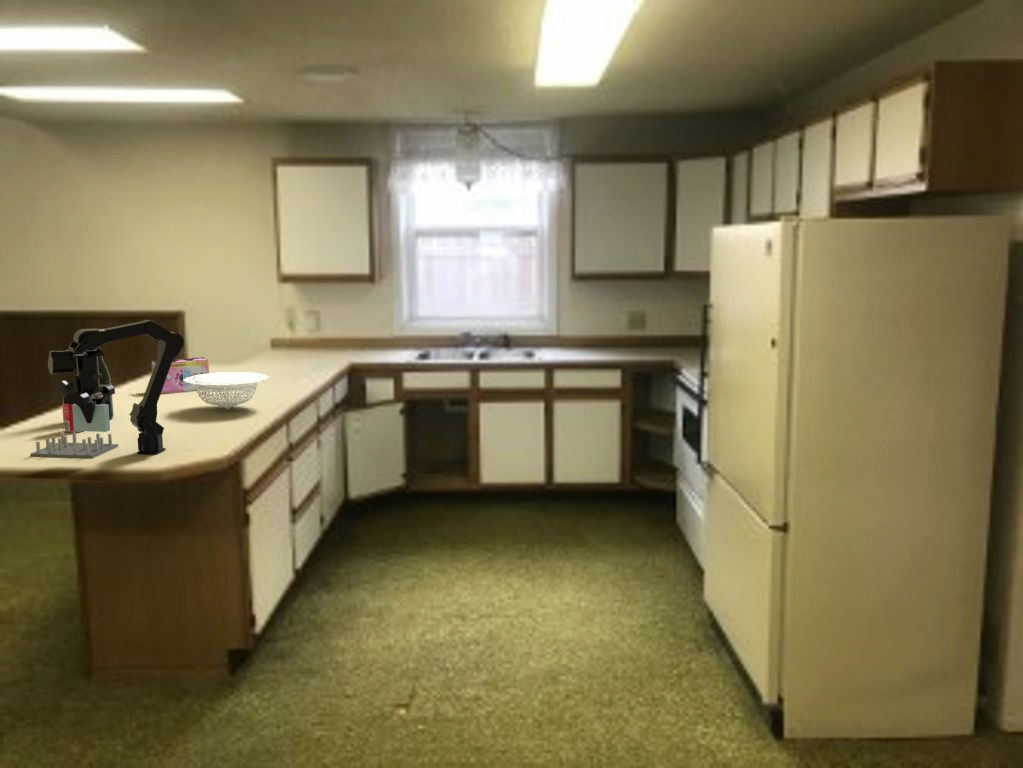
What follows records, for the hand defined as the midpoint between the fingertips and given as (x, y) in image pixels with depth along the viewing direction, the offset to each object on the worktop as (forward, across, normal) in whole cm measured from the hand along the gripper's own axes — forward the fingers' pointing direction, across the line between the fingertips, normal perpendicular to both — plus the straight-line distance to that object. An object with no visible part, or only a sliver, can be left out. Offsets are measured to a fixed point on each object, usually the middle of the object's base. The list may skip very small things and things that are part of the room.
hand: (91, 422), depth 262 cm
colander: (+12, -81, +9) cm, 82 cm away
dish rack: (+12, -10, -12) cm, 20 cm away
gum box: (+12, -120, -28) cm, 123 cm away
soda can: (+12, -37, -28) cm, 48 cm away
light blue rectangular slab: (+3, 0, 0) cm, 3 cm away
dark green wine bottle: (+12, -57, -31) cm, 66 cm away
